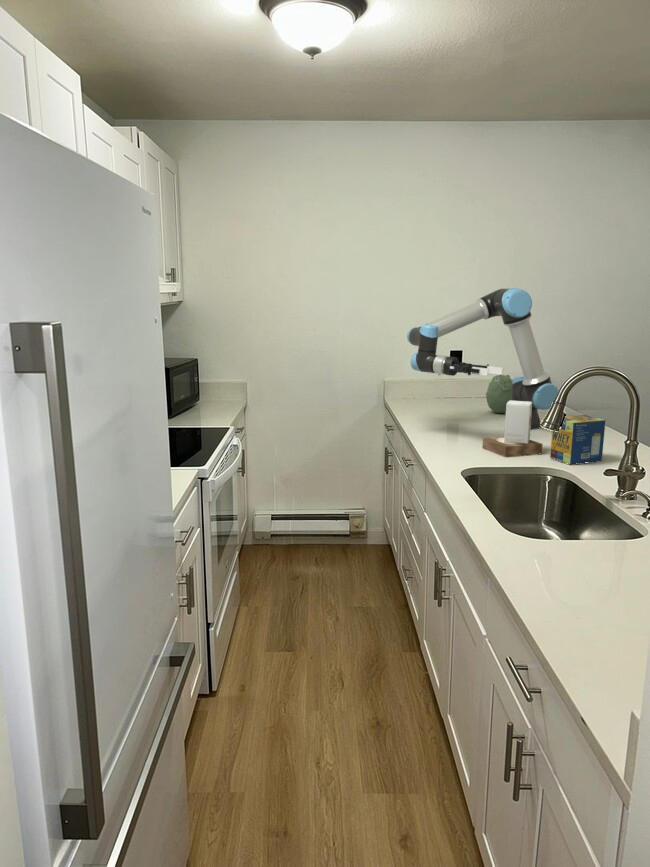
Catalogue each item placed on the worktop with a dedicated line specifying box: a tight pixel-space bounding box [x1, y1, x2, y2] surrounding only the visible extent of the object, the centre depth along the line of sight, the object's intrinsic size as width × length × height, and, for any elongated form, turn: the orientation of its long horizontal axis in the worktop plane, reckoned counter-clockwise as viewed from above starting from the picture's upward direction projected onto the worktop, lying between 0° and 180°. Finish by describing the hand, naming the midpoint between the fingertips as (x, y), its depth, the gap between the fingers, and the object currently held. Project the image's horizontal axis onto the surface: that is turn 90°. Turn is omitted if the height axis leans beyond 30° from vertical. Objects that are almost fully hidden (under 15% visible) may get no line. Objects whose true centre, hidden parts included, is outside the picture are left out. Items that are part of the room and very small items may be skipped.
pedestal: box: [481, 436, 544, 458], centre depth 263 cm, size 16×16×4 cm
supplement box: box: [503, 401, 532, 444], centre depth 260 cm, size 9×9×15 cm
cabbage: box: [485, 374, 513, 414], centre depth 346 cm, size 16×19×20 cm
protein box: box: [549, 414, 606, 465], centre depth 248 cm, size 10×15×16 cm
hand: (495, 371), depth 265 cm, fingers open, 13 cm apart
